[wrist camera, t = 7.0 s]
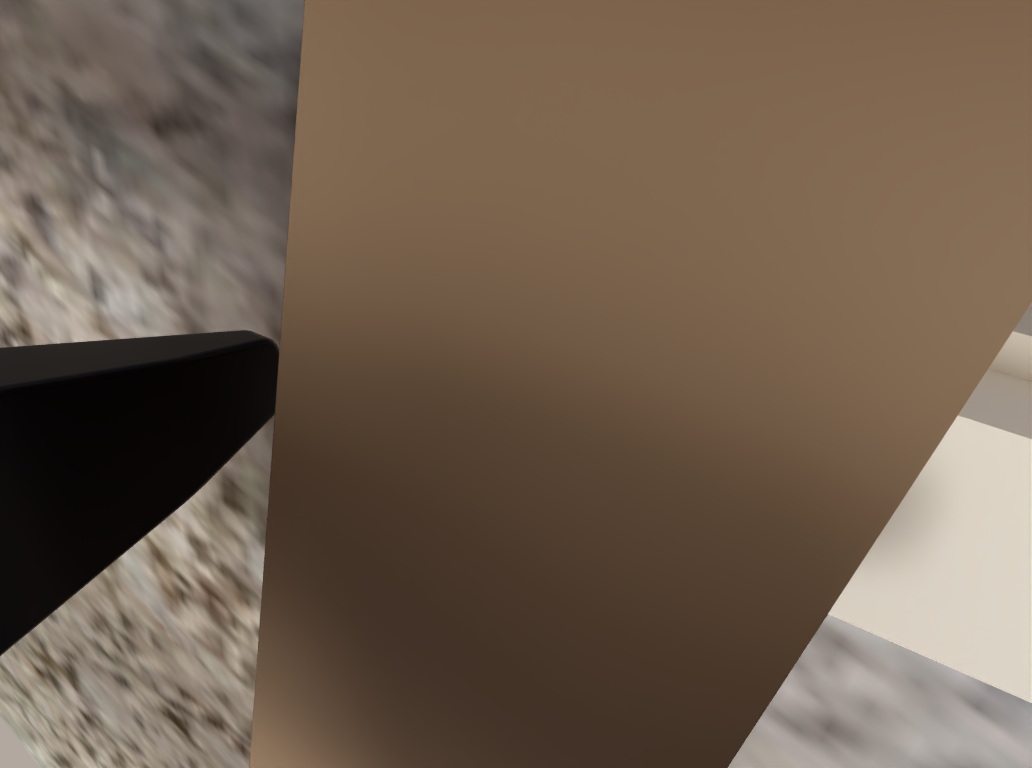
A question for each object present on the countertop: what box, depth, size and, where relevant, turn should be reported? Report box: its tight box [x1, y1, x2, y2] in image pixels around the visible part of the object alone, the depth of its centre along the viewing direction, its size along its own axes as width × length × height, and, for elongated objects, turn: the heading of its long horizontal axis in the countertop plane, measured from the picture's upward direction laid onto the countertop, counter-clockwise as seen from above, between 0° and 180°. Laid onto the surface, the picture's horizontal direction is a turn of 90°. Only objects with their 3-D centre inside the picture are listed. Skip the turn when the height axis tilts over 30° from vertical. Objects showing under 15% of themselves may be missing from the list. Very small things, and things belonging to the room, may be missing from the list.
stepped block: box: [828, 303, 1032, 703], centre depth 11 cm, size 4×11×3 cm, turn 83°
